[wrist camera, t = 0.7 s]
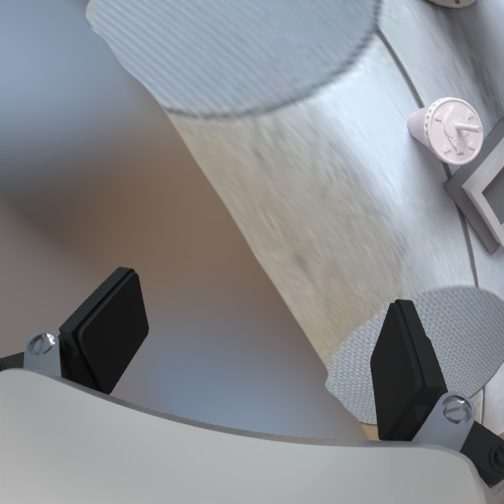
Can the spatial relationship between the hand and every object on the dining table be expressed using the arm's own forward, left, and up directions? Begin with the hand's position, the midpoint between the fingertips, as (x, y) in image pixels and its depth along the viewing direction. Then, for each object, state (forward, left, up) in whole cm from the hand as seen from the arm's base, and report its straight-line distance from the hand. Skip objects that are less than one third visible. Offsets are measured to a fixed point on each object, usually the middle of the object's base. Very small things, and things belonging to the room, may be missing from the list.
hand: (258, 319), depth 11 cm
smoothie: (-15, +7, -27) cm, 32 cm away
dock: (-19, +21, -27) cm, 39 cm away
